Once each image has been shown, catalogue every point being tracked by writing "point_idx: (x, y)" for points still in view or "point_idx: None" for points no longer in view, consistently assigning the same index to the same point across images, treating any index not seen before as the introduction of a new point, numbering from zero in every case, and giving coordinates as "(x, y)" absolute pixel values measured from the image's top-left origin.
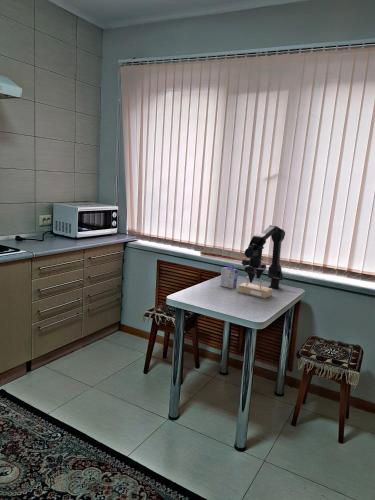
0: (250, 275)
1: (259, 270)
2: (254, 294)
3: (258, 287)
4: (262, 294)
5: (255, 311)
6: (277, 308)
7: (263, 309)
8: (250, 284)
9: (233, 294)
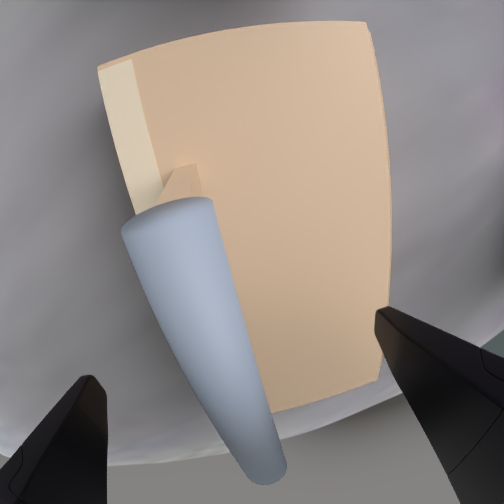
0: (34, 498)
1: (495, 483)
2: None
3: (294, 314)
4: None
5: (16, 428)
6: (144, 459)
7: None
8: (340, 141)
9: (21, 142)
